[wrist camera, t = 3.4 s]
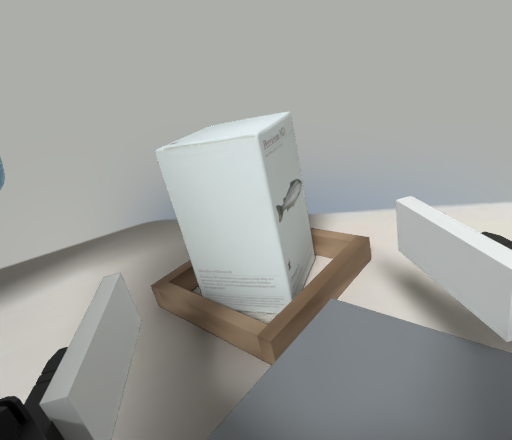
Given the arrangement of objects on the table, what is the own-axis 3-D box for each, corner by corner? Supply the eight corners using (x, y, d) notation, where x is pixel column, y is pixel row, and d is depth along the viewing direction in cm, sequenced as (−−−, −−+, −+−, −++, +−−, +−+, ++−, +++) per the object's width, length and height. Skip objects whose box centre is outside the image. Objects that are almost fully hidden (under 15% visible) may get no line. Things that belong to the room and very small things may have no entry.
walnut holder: (158, 305, 28) (150, 285, 27) (257, 235, 36) (252, 218, 35) (277, 367, 20) (270, 341, 19) (371, 258, 28) (369, 237, 27)
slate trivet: (196, 483, 15) (186, 462, 14) (334, 316, 22) (331, 298, 22) (565, 863, 7) (577, 850, 6) (586, 403, 14) (592, 378, 14)
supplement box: (296, 317, 23) (256, 132, 18) (203, 309, 26) (148, 149, 21) (318, 259, 29) (293, 108, 24) (241, 258, 32) (205, 124, 27)
